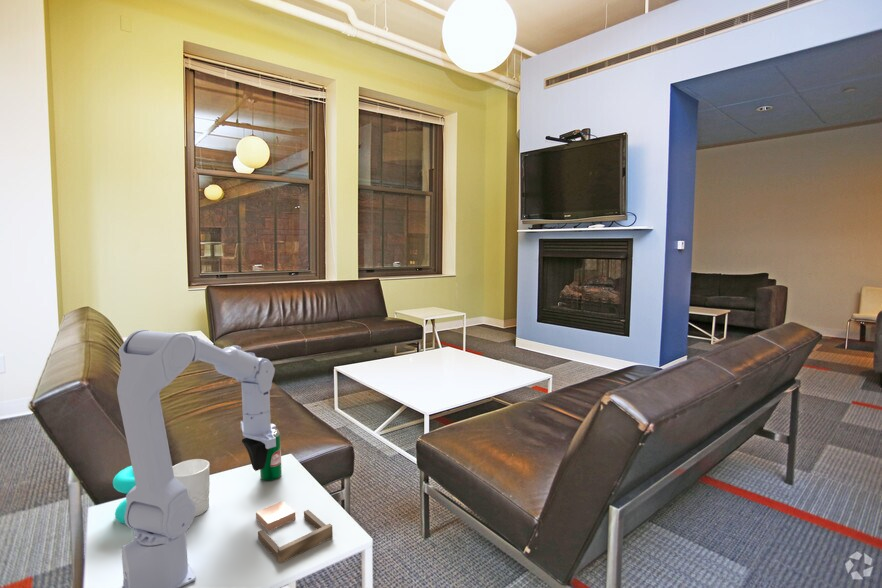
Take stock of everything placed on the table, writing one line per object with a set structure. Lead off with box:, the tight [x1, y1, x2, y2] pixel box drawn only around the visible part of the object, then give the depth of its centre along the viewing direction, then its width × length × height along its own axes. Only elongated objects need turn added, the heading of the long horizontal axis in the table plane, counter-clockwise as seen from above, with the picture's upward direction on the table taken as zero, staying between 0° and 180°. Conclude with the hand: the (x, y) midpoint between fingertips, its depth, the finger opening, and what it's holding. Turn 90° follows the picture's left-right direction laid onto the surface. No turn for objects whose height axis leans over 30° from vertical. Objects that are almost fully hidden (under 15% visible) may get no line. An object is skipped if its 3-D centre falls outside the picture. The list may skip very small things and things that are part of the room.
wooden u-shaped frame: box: [257, 509, 334, 564], centre depth 92 cm, size 11×10×2 cm
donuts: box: [112, 465, 136, 525], centre depth 100 cm, size 10×10×10 cm
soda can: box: [259, 428, 283, 482], centre depth 116 cm, size 5×5×12 cm
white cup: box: [172, 458, 210, 518], centre depth 101 cm, size 8×8×10 cm
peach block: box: [255, 500, 296, 532], centre depth 99 cm, size 6×6×2 cm
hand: (258, 468), depth 104 cm, fingers closed
